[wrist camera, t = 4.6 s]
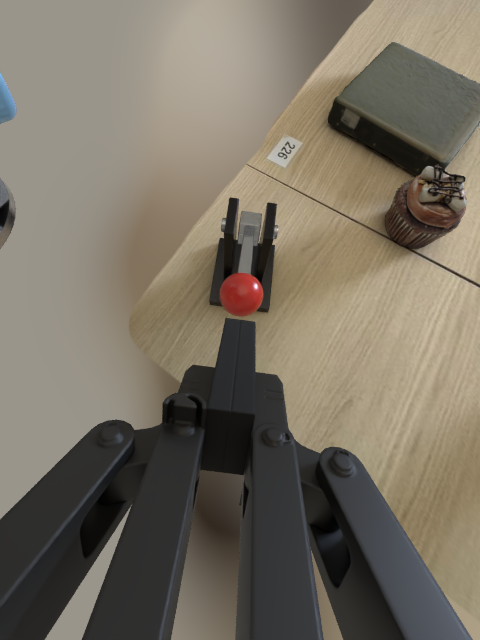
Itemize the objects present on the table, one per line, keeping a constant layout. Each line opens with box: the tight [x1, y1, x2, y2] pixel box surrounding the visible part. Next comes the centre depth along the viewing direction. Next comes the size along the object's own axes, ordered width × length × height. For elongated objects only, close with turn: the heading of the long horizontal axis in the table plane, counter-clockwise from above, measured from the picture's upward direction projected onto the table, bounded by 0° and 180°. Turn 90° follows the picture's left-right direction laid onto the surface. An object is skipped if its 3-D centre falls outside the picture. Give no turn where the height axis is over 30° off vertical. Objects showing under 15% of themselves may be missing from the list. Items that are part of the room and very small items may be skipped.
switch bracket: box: [209, 198, 278, 312], centre depth 37 cm, size 10×8×13 cm
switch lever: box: [220, 211, 263, 316], centre depth 29 cm, size 14×4×4 cm, turn 172°
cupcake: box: [385, 165, 467, 249], centre depth 43 cm, size 10×10×10 cm
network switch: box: [328, 42, 480, 176], centre depth 53 cm, size 23×23×5 cm
